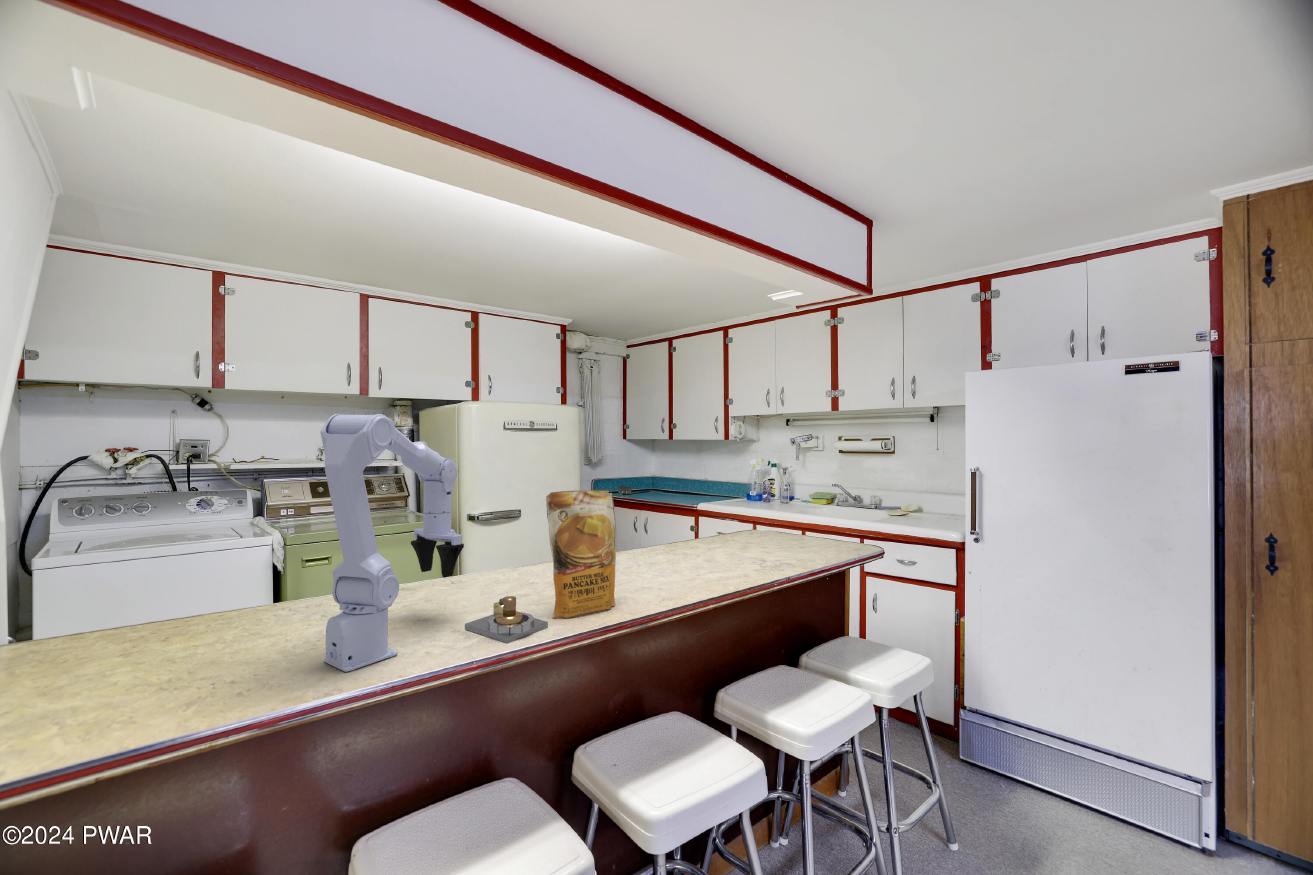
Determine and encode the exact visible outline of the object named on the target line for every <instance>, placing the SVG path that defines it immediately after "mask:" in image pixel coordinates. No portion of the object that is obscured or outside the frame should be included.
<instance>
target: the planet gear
mask: <svg viewBox="0 0 1313 875" xmlns="http://www.w3.org/2000/svg"><path fill="white" fill-rule="evenodd" d="M502 598H503V612H501V613H499V614H497V615H496V623H497V624H500V625H515V624H521V623H522V613H521V611H517V597H516V596H515V595H510V596H509V595H508V596H504V597H502Z"/></svg>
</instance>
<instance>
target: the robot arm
mask: <svg viewBox="0 0 1313 875" xmlns="http://www.w3.org/2000/svg"><path fill="white" fill-rule="evenodd" d="M319 432H320V437H321V442H322V443H321V444H322V448H323V452H324V472H325V473H324V474H325V478H326V482H327V486H328V491H329V497H330V501H331V506H332V509H333V515H334V521H335V525H336V528H337V530H336V531H337V534H338V539H339V545H340V548H341V554H342V558H343V560H342V561H341V562H340V563H339V564H338V565H337V566H335V568H334V569H333V571H331V572H332V578H333V583H332V587H331V588H332V590H331V591H332V598H333V601H334V602H335V603H336V604H338V605H339V611H341V612H340V613H338V614H337V615H334V616H332V617H330V618H329V619H328V620H327V623H326V626H325V657H324V658H323V663H326V664H329V665H330V666H331V667H332V666H333V667H335V668H337V669H339V670H341V671H342V672H345V673H347V672H350V671H353V670H356V669H359V668H362V667H365V666H368V665H371V664H374V663H377V662H380V661H383V660H386V659H388V658H391V657H394V656H395V657H396V656H397V655H398V654H399V653H398V651H397V650H395V649H392V648H389V646H388V644H389V643H388V642H389V641H388V637H389V636H388V635H389V634H388V633H389V632H388V631H389V628H388V627H389V608H391V607H392V606H393V604H394V603H395V600H396V599H397V597H398V595H399V591H400V582H399V578H398V576H397V575H396V573H395V572H394V570H393V565H392V563H391V562H390V561H389V560H388V559H386V558H385V557H384V556H382V555H381V554H380V553H379V551H378V546H377V541H376V536H375V531H374V525H373V519H372V513H371V508H370V504H369V503H370V502H369V499H368V493H367V488H366V482H365V476H364V470H365V469H366V467H367V466H369V465H371V464H373V463H374V462H375V461H376V460H377V458H378V457H379V456H381V455H382V453H383V452H385V450H388V452H389V451H390V452H391V453H393V454H395V455H396V456H399V457H400V462H401V463H402V465H403V466H404V467H406V468H408V469H409V470H411V471H412V472H414V473H416V475H417V477H418V479H419V481H420V483H423V510H422V511H423V516H422V518H423V520H422V521H423V522H422V525H423V526H422V527H420V528H419V527H418V528H414V529H413V538H414V539H415V540H414V539H413V540H411V541H410V545H411V546H412V548H413V550H414V552H415V554H416V557H417V560H418V564H419V567H420V571H421V573H426V572H430V571H432V568H433V563H434V553H435V548H436V551H437V552H438V556H439V560H440V570H441V576H442V578H450V577H453V575H454V571H455V567H456V565H457V561H458V558H459V556H460V554H461V552H462V551H463V549H464V547H465V544H464V543H463V535H462V534H460V533H456V530H455V529H452V496H453V495H452V493H453V492H452V491H454V489H455V482H456V479H457V477H458V472H459V471H458V468H457V467H458V466H457V463H456V462H455V461H454V460H453V459H452V458H450V457H442V456H441V455H440V453H439V452H438V451H436V450H434V449H432V448H430V447H428V443H427V442H426V441H414V442H412V441H411V440H410V439H409V438H408V437H406V435H405V434H403V433H402V432H401V431H400V430H399V429H398V428H396V424H395V421H394V420H392V419H390V418H389V417H387V415H385V414H382V413H377V414H343V413H335V414H333V415H331V416H330V417H328V419H327V420H326V422H325V423H324V425H323V426H322V429H320V430H319ZM437 542H440V543H441V544H438V545H437ZM442 543H443V544H442Z"/></svg>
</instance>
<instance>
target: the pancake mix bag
mask: <svg viewBox="0 0 1313 875" xmlns="http://www.w3.org/2000/svg"><path fill="white" fill-rule="evenodd" d="M609 491H610V490H609V489H593V490H580V489H578V490H561V491H552V492H550V493H549V494H547V495H546V496H545V497H546V504H545V505H546V518H547V523H548V534H549V545H550V551H551V556H552V561H553V562H552V563H553V564H552V566H553V567H552V568H553V571H552V572H553V573H552V574H553V575H552V576H553V579H552V580H553V585H554V595H555V600H554V607H553V613H552V619H555V618H556V619H557V618H558V619H559V618H561V619H572V618H576V617H577V618H578V617H583V616H586V615H587V616H588V615H592V614H596V613H602V612H606V611H610V610H611V609H612V607H614V606H616V601H615V600H616V599H615V588H616V563H617V562H616V561H617V560H616V559H617V524H616V523H617V522H616V514H615V504H614V502H615V501H614V495H613V493H612V492H609Z"/></svg>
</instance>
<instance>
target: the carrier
mask: <svg viewBox="0 0 1313 875" xmlns="http://www.w3.org/2000/svg"><path fill="white" fill-rule="evenodd" d="M503 598H504V597H502V598H499V600H498V601H497V602H495V603H493V607H492V608H493V610H492V611H493V613H492V614H490V615H488V616H487V615H486V616H484V617H481V618H477V619H475V620H472V621H469V622H466V623H464V630H465V631H469V632H471V633H475V634H478V635H481V636H483V637H487V638H490V639H493V640H496V641H499V642H502V643H504V644H505V643H506V644H509V643H511V642H514V641H516V640H519V639H522V638H524V637H527V636H530V635H532V634H534V633H537V632H539V631H542V630H544V629H547V628H548V627H549V621H546V620H542V619H539V618H535V617H534V615H532V614H530V613H528V612H521V611H520V612H521V613H522V623H521V624H515V625H500V624H497V623H496V615H497V614H499V613H501V612H503ZM529 634H530V635H529Z"/></svg>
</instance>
